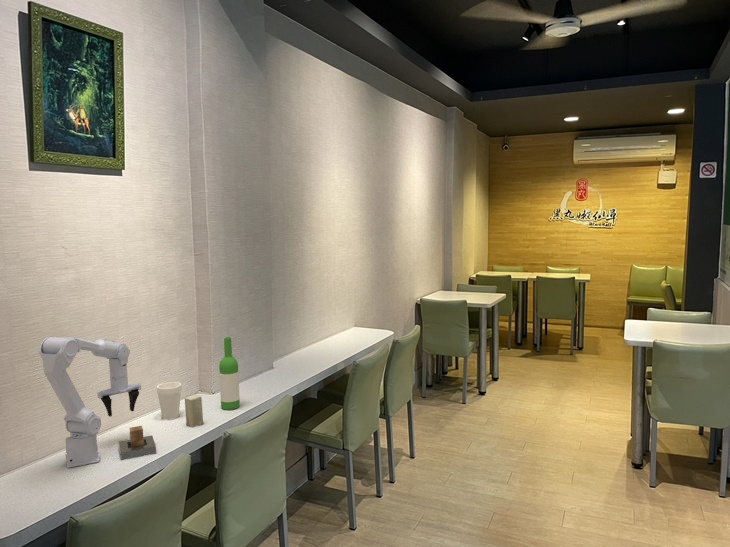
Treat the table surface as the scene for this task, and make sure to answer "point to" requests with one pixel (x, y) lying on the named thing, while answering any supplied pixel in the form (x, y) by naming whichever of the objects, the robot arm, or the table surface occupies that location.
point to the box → (193, 410)
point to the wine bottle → (229, 378)
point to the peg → (136, 436)
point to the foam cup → (169, 399)
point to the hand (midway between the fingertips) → (121, 413)
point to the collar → (137, 448)
